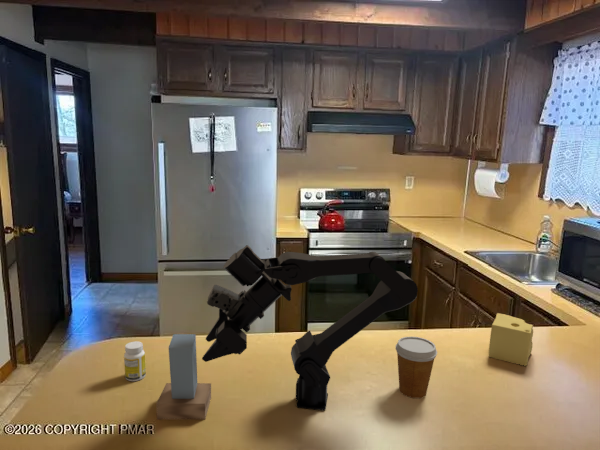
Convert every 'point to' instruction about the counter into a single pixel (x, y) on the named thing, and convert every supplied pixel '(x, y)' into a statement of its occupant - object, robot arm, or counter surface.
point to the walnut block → (184, 404)
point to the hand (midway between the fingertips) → (205, 349)
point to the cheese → (510, 339)
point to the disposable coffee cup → (415, 365)
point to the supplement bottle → (134, 361)
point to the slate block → (183, 366)
